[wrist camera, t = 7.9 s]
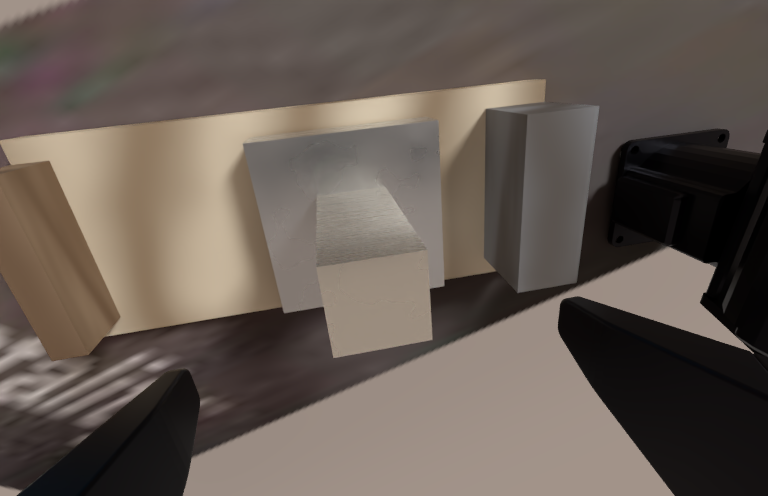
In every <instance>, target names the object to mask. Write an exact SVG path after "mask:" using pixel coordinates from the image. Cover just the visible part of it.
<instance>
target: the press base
mask: <svg viewBox="0 0 768 496" xmlns="http://www.w3.org/2000/svg"><path fill="white" fill-rule="evenodd" d="M545 84H546V79H545V80H524V81H515V82H506V83H497V84H488V85H479V86H470V87H461V88H452V89H443V90H434V91H425V92H416V93H408V94H399V95H390V96H381V97H372V98H363V99H354V100H345V101H336V102H327V103H318V104H309V105H300V106H291V107H282V108H273V109H264V110H255V111H246V112H237V113H228V114H219V115H211V116H202V117H193V118H184V119H175V120H166V121H157V122H148V123H139V124H130V125H121V126H112V127H103V128H94V129H85V130H76V131H67V132H58V133H49V134H40V135H31V136H23V137H18V138H12V139H6V140H1V141H0V144H1V146H2V148H3V150H4V152H5V154H6V156H7V158H8V160H9V162H10V164H11V165H9V166H6V167H2V168H0V272H1V274H2V276H3V277H4V279H5V281H6V282H7V284H8V286H9V288H10V289H11V291H12V293H13V295H14V296H15V298H16V300H17V301H18V303H19V305H20V307H21V308H22V310H23V312H24V314H25V315H26V317H27V319H28V320H29V322H30V324H31V326H32V327H33V329H34V331H35V333H36V334H37V336H38V338H39V339H40V341H41V343H42V345H43V346H44V348H45V350H46V352H47V353H48V355H49V357H50V358H51V360H52V361H56V360H62V359H67V358H73V357H79V356H85V355H89V354H90V353H91V352H92V350H93V349H94V348H95V347H96V346H97V344H98V343H99V342H100V341H101V340H102V339H103V337H106V336H112V335H118V334H124V333H130V332H136V331H142V330H148V329H154V328H160V327H166V326H172V325H178V324H184V323H190V322H196V321H202V320H208V319H214V318H220V317H226V316H232V315H238V314H244V313H250V312H256V311H262V310H268V309H274V308H280V307H282V303H281V299H280V295H279V291H278V287H277V283H276V279H275V275H274V270H273V266H272V262H271V258H270V254H269V250H268V246H267V242H266V238H265V234H264V230H263V225H262V221H261V217H260V213H259V209H258V205H257V201H256V197H255V193H254V189H253V184H252V180H251V176H250V172H249V168H248V164H247V160H246V156H245V152H244V148H243V143H244V142H245V141H247V140H248V139H249V138H250V137H258V136H266V135H274V134H283V133H291V132H300V131H308V130H316V129H325V128H333V127H342V126H350V125H358V124H367V123H375V122H384V121H392V120H401V119H409V118H417V117H430V118H433V119H436V120H438V121H439V148H440V176H441V204H442V232H443V260H444V280H447V279H453V278H459V277H465V276H471V275H477V274H483V273H489V272H495V271H497V272H498V273H499V274H500V275H501V276H502V277H503V278H504V279H505V280H506V281H507V282H508V283H509V284H510V286H511V287H512V288H513V289H514V290H515V291H516V292H517V293H521V292H526V291H532V290H538V289H543V288H549V287H555V286H561V285H566V284H572V283H577V276H578V269H579V261H580V253H581V245H582V238H583V230H584V222H585V214H586V206H587V199H588V191H589V183H590V175H591V167H592V160H593V152H594V144H595V136H596V128H597V121H598V113H599V106H593V105H580V104H567V103H554V102H544V98H545Z"/></svg>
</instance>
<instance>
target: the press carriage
mask: <svg viewBox="0 0 768 496" xmlns="http://www.w3.org/2000/svg"><path fill="white" fill-rule="evenodd" d="M243 148H244V152H245V156H246V160H247V164H248V168H249V172H250V176H251V180H252V184H253V189H254V193H255V197H256V201H257V205H258V209H259V213H260V217H261V221H262V225H263V230H264V234H265V238H266V242H267V246H268V250H269V254H270V258H271V262H272V266H273V270H274V275H275V279H276V283H277V287H278V291H279V295H280V299H281V303H282V307H283V311H284V313H289V312H295V311H301V310H306V309H312V308H318V307H324V311H325V316H326V321H327V326H328V332H329V337H330V342H331V347H332V352H333V358H336V357H342V356H347V355H353V354H358V353H364V352H369V351H374V350H380V349H385V348H391V347H396V346H402V345H407V344H412V343H418V342H423V341H429V340H432V322H431V304H430V289H431V288H436V287H442V286H444V260H443V232H442V204H441V176H440V148H439V121H438V120H436V119H433V118H430V117H417V118H409V119H401V120H392V121H384V122H375V123H367V124H358V125H350V126H342V127H333V128H325V129H316V130H308V131H300V132H291V133H283V134H274V135H266V136H258V137H250V138H249V139H248V140H247V141H245V142H244V143H243Z"/></svg>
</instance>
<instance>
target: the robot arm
mask: <svg viewBox="0 0 768 496" xmlns="http://www.w3.org/2000/svg"><path fill="white" fill-rule="evenodd" d="M718 137H719V138H718ZM728 140H729V131H728V130H725V129H711V130H703V131H696V132H688V133H681V134H673V135H666V136H658V137H651V138H643V139H636V140H630V141H628V142H626V143H625V144H624V146H623V148H622V152H621V158H620V164H619V171H618V177H617V183H616V190H615V196H614V202H613V209H612V215H611V221H610V228H609V234H608V242H609V243H610V244H612V245H613V246H615V247H620V246H626V245H632V244H638V243H644V242H650V241H655V242H658V243H660V244H662V245H664V246H668V247H671V248H673V249H675V250H677V251H679V252H681V253H684V254H686V255H688V256H690V257H692V258H694V259H697V260H699V261H701V262H703V263H708V264H710V265H713V266H715V267H716V269H715V272H714V274H713V277H712V279H711V282H710V284H709V287H708V289H707V292H706V293H703V296H702V299H701V301H700V303H701V304H702V305H703V306H704V307H705V308H706V309H707V310H708V311H709V312H710V313H712V314H713V315H714V316H715V317H716V318H717V319H718V320H719V321H720V322H721V323H722V324H723V325H724V326H725V327H727V328H728V329H729V330H730V331H731V332H732V333H733V334H734V335H735V336H736V337H737V338H738V339H739V340H741V341H742V342H743V343H744V344H745V345H746V346H747V347H748V348H749V349H750V350H751V351H752V352H754V354H752V353H751V352H750V351H747V350H744V349H741V348H738V347H735V346H731V345H728V344H725V343H722V342H719V341H716V340H713V339H710V338H707V337H703V336H700V335H697V334H694V333H691V332H688V331H685V330H681V329H679V328H676V327H672V326H669V325H666V324H663V323H660V322H657V321H654V320H650V319H648V318H644V317H641V316H638V315H635V314H632V313H629V312H626V311H623V310H620V309H617V308H613V307H610V306H607V305H604V304H601V303H598V302H594V301H591V300H588V299H585V298H582V297H572V298H566V299H564V300H562V302H561V304H560V312H559V320H558V330H559V334H560V336H561V338H562V340H563V341H564V343H565V344H566V346H567V348H568V349H569V351H570V352H571V354H572V356H573V357H574V359H575V360H576V362H577V363H578V365H579V367H580V369H581V370H582V372H583V374H584V375H585V377H586V378H587V380H588V381H589V383H590V384H591V386H592V388H593V389H594V390H595V392H596V393H597V394H598V396H599V397H600V398H601V400H602V401H603V402H604V404H605V405H606V406H607V408H608V409H609V410H610V412H611V413H612V414H613V416H614V417H615V418H616V419H617V421H618V422H619V423H620V425H621V426H622V427H623V429H624V430H625V431H626V433H627V434H628V435H629V436H630V438H631V439H632V440H633V442H634V443H635V444H636V446H637V447H638V448H639V450H640V451H641V452H642V454H643V455H644V456H645V457H646V459H647V460H648V461H649V462H650V464H651V465H652V467H653V468H654V469H655V471H656V472H657V473H658V474H659V476H660V477H661V478H662V480H663V481H664V482H665V483H666V485H667V486H668V488H669V489H670V490H671V491H672V493H673V494H674V495H675V496H768V130H767V132H766V135H765V137H764V140H763V143H765V145H764V147H763V150H762V152H761V154H760V153H754V152H747V151H741V150H735V149H728V148H726V147H727V144H728ZM633 147H634V149H633V151H632V152H631V149H632V148H633ZM618 236H619V237H618ZM617 237H618V239H617ZM616 239H617V240H616ZM199 408H200V398H199V394H198V391H197V389H196V386H195V384H194V381H193V379H192V376H191V374H190V372H189V371H188V370H187V369H185V368H183V369H177V370H172V371H168V372H166V373H164V374H163V375H162V376H161V377H160V378H158V379H157V380H156V381H155V382H154V383H152V384H151V385H150V386H149V387H147V388H146V389H145V390H144V391H143V392H141V393H140V394H139V395H138V396H137V397H135V398H134V399H133V400H132V401H131V402H129V403H128V404H127V405H126V406H124V407H123V408H122V409H121V410H120V411H118V412H117V413H116V414H115V415H114V416H112V417H111V418H110V419H109V420H108V421H106V422H105V423H104V424H103V425H101V426H100V427H99V428H98V429H97V430H95V431H94V432H93V433H92V434H91V435H89V436H88V437H87V438H86V439H85V440H83V441H82V442H81V443H80V444H78V445H77V446H76V447H75V448H74V449H72V450H71V451H70V452H69V453H68V454H66V455H65V456H64V457H63V458H61V459H60V460H59V461H58V462H57V463H55V464H54V465H53V466H52V467H51V468H49V469H48V470H47V471H46V472H45V473H43V474H42V475H41V476H40V477H38V478H37V479H36V480H35V481H34V482H32V483H31V484H30V485H29V486H28V487H26V488H25V489H24V490H23V491H22V492H20V493H19V494H18V495H17V496H183V492H184V489H185V485H186V481H187V477H188V473H189V468H190V463H191V457H192V451H193V445H194V439H195V433H196V426H197V420H198V414H199Z"/></svg>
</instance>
